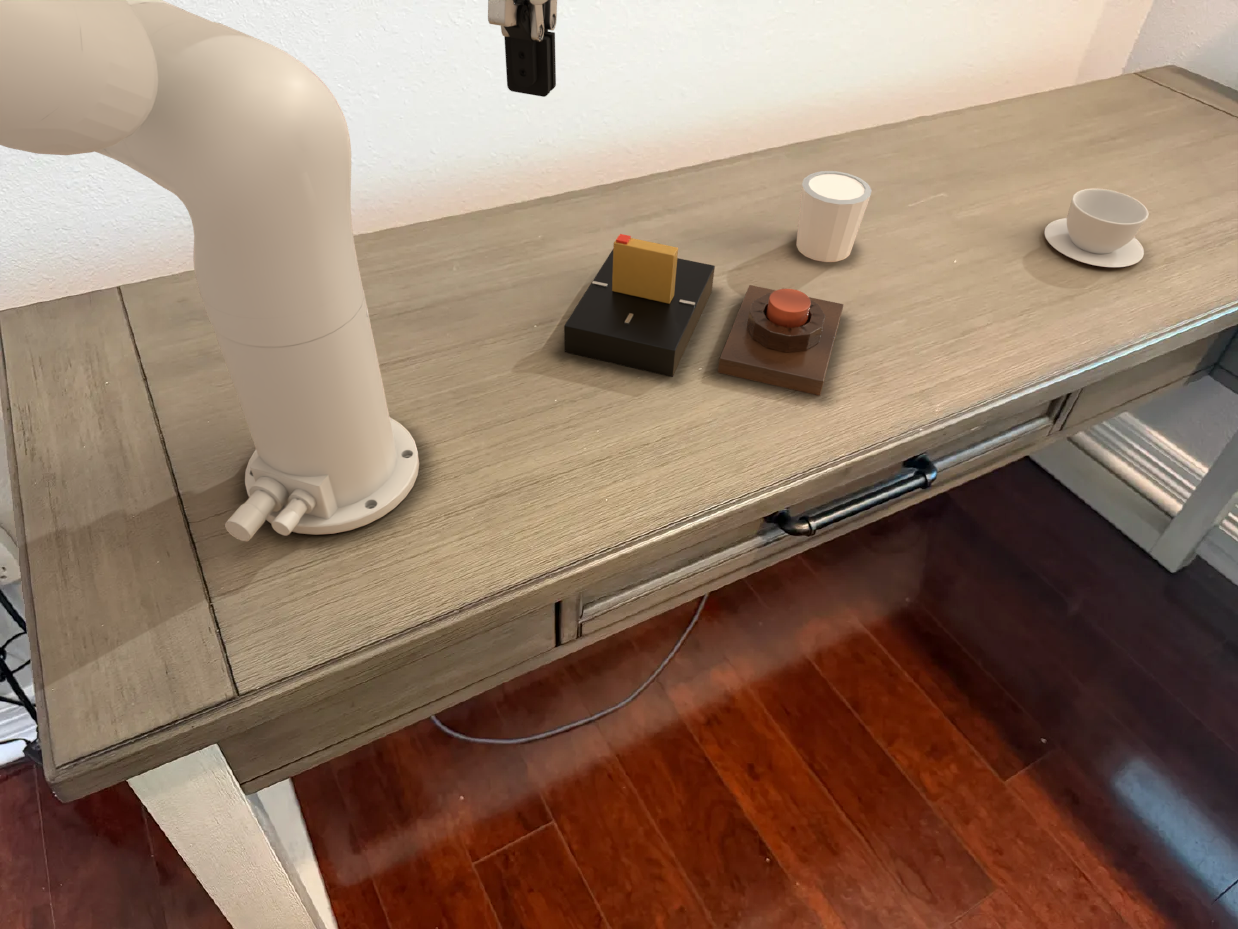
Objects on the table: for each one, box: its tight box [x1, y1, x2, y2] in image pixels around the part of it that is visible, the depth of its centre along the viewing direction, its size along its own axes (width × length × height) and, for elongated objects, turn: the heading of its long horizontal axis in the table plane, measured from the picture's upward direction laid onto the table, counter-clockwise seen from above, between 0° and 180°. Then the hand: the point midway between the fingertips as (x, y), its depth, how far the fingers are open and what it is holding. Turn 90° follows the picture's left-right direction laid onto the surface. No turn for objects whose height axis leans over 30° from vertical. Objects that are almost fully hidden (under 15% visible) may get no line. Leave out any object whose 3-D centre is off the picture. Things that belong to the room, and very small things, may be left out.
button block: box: [717, 284, 844, 396], centre depth 80 cm, size 12×9×4 cm
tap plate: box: [563, 249, 716, 378], centre depth 82 cm, size 14×10×3 cm
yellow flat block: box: [612, 233, 679, 304], centre depth 79 cm, size 6×1×5 cm, turn 71°
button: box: [767, 288, 811, 328], centre depth 78 cm, size 4×4×2 cm
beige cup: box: [795, 170, 872, 263], centre depth 90 cm, size 7×7×7 cm
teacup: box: [1044, 187, 1149, 268], centre depth 93 cm, size 10×10×5 cm
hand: (531, 89), depth 66 cm, fingers closed
